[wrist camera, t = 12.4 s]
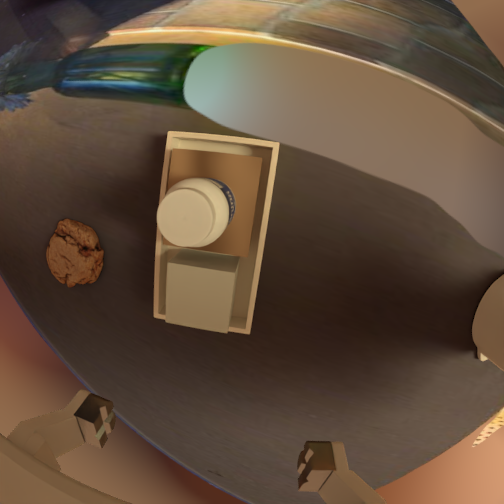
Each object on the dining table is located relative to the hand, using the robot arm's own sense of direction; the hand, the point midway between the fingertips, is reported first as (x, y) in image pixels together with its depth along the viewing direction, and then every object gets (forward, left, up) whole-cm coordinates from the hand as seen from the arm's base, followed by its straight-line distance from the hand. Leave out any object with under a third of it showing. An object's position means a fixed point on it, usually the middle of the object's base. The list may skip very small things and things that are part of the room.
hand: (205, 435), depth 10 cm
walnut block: (+4, -7, -26) cm, 27 cm away
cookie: (+24, +3, -27) cm, 36 cm away
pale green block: (+4, +3, -26) cm, 27 cm away
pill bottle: (+4, -6, -21) cm, 23 cm away
